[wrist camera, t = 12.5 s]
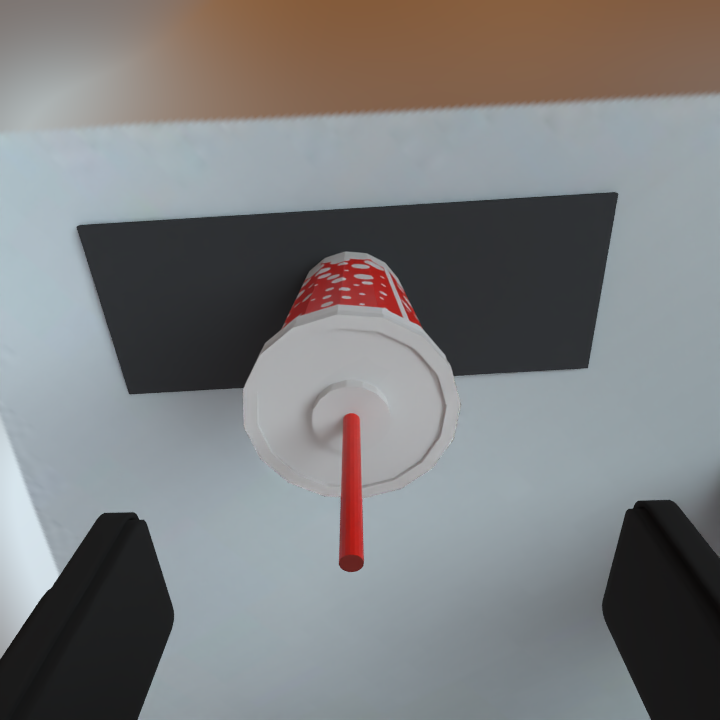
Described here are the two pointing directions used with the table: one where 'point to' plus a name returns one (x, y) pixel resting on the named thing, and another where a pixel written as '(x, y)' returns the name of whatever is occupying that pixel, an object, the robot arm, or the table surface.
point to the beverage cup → (351, 392)
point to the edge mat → (363, 235)
